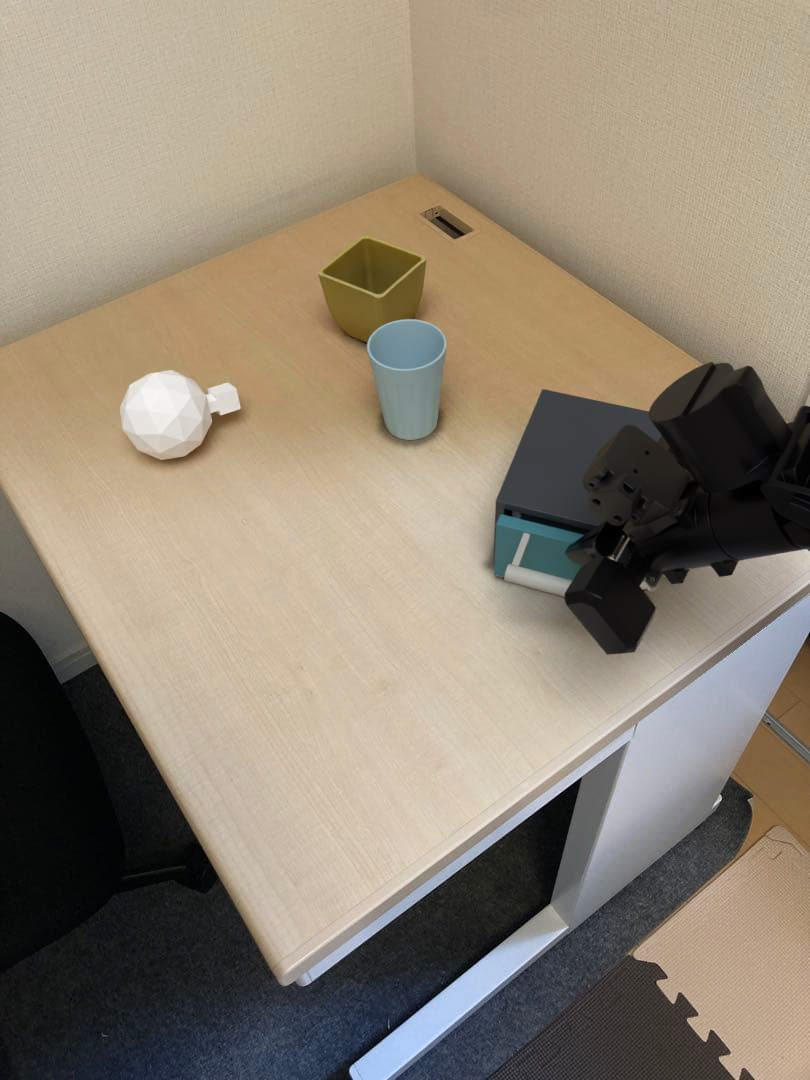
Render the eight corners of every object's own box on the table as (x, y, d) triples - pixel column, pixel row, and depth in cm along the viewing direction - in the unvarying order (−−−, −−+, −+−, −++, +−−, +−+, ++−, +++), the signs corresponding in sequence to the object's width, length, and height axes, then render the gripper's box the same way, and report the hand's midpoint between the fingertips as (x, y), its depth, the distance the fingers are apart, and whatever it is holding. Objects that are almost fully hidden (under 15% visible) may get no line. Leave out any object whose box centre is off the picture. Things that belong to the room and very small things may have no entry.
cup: (460, 408, 96) (459, 329, 88) (429, 456, 92) (425, 378, 84) (396, 389, 99) (390, 311, 91) (363, 435, 95) (353, 357, 87)
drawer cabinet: (629, 601, 80) (645, 537, 73) (492, 565, 83) (495, 500, 76) (661, 484, 88) (678, 417, 81) (536, 455, 92) (542, 388, 85)
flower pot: (370, 299, 109) (364, 232, 102) (430, 323, 106) (428, 255, 99) (325, 339, 105) (315, 272, 98) (386, 365, 102) (380, 298, 95)
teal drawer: (607, 655, 76) (619, 604, 70) (476, 618, 79) (478, 566, 73) (651, 497, 86) (664, 442, 80) (534, 470, 89) (539, 414, 83)
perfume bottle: (148, 485, 89) (259, 445, 94) (122, 399, 84) (241, 362, 89) (122, 455, 96) (227, 420, 101) (97, 374, 91) (208, 341, 96)
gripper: (719, 346, 64) (562, 409, 76) (610, 525, 54) (450, 563, 67) (799, 464, 67) (635, 505, 80) (709, 652, 57) (539, 665, 70)
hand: (569, 554), depth 74 cm, fingers closed
